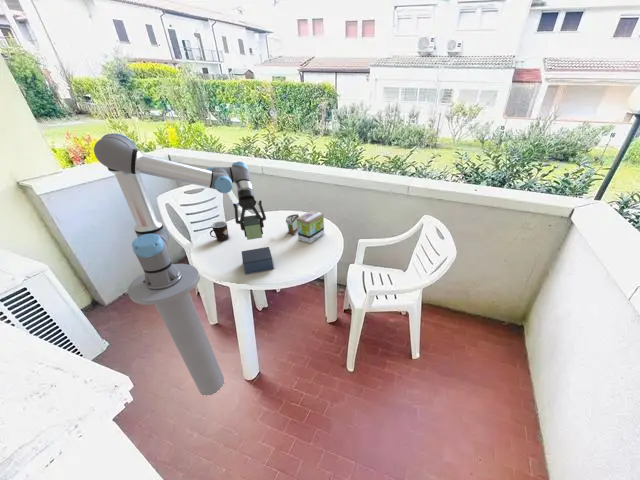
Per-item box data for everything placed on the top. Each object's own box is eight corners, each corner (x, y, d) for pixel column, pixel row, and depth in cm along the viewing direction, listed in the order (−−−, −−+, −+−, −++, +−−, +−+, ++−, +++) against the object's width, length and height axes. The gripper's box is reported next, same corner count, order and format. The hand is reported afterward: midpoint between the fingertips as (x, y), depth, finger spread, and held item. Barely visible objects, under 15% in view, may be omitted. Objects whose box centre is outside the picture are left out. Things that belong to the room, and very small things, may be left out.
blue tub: (245, 274, 145) (242, 263, 141) (244, 262, 155) (241, 251, 151) (274, 268, 150) (272, 257, 146) (270, 257, 159) (268, 246, 155)
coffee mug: (227, 234, 181) (223, 220, 176) (232, 239, 176) (229, 224, 171) (208, 240, 175) (204, 225, 169) (213, 245, 170) (209, 230, 164)
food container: (291, 226, 192) (289, 213, 186) (300, 227, 191) (298, 214, 185) (284, 235, 182) (282, 220, 176) (293, 236, 181) (291, 221, 175)
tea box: (310, 243, 173) (309, 221, 164) (297, 239, 177) (295, 218, 168) (324, 234, 184) (323, 213, 175) (312, 230, 188) (310, 209, 179)
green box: (247, 240, 137) (243, 225, 132) (245, 231, 145) (242, 216, 140) (262, 237, 139) (260, 223, 135) (260, 228, 147) (257, 214, 143)
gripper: (265, 193, 149) (274, 234, 145) (225, 197, 142) (233, 240, 139) (265, 186, 142) (274, 229, 138) (222, 190, 135) (231, 235, 132)
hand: (254, 234), depth 138 cm, fingers closed on green box, 7 cm apart
